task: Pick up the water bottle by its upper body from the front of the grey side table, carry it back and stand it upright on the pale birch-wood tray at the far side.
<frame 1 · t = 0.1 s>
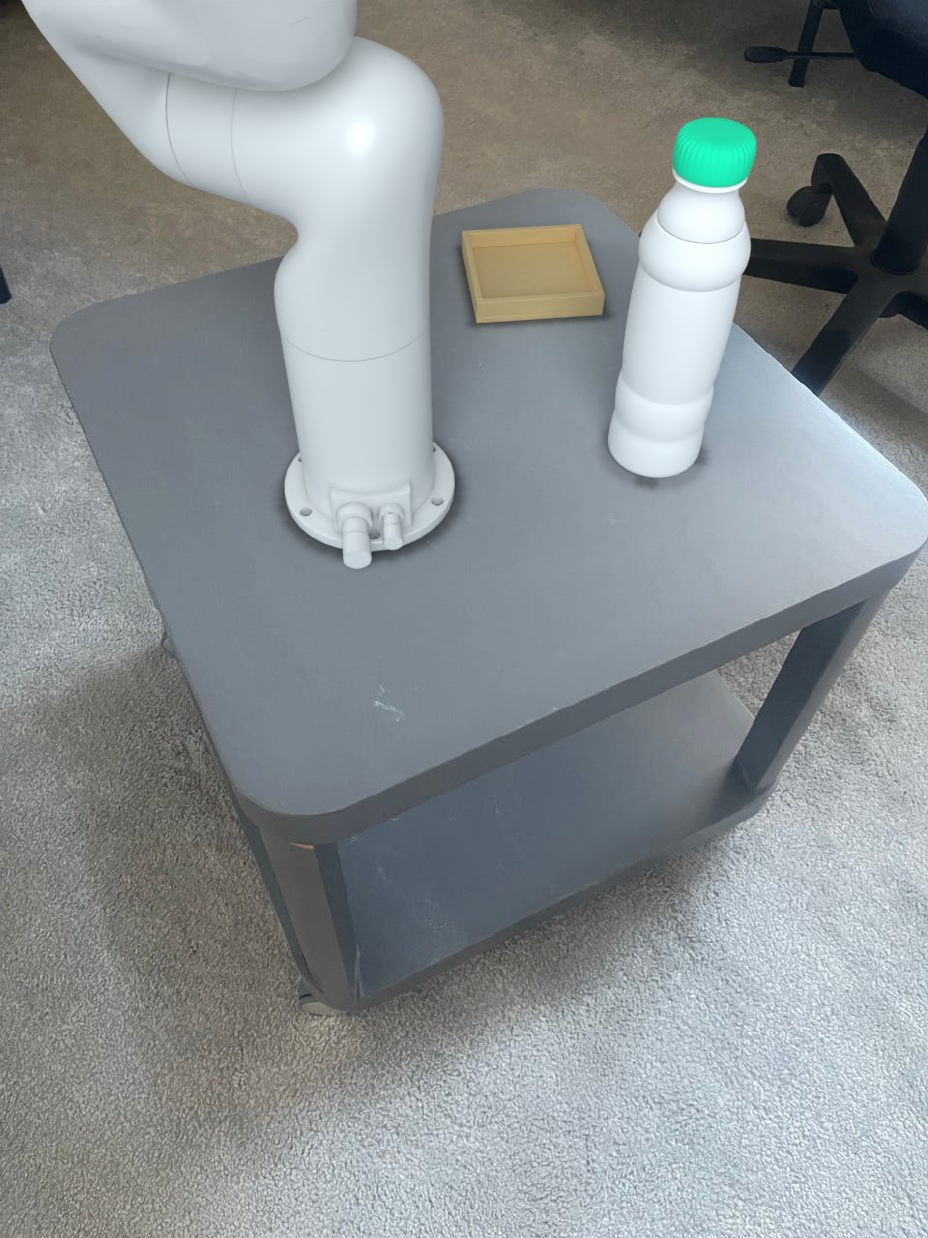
water bottle: (651, 452, 78), on the table
tray: (529, 281, 92), on the table
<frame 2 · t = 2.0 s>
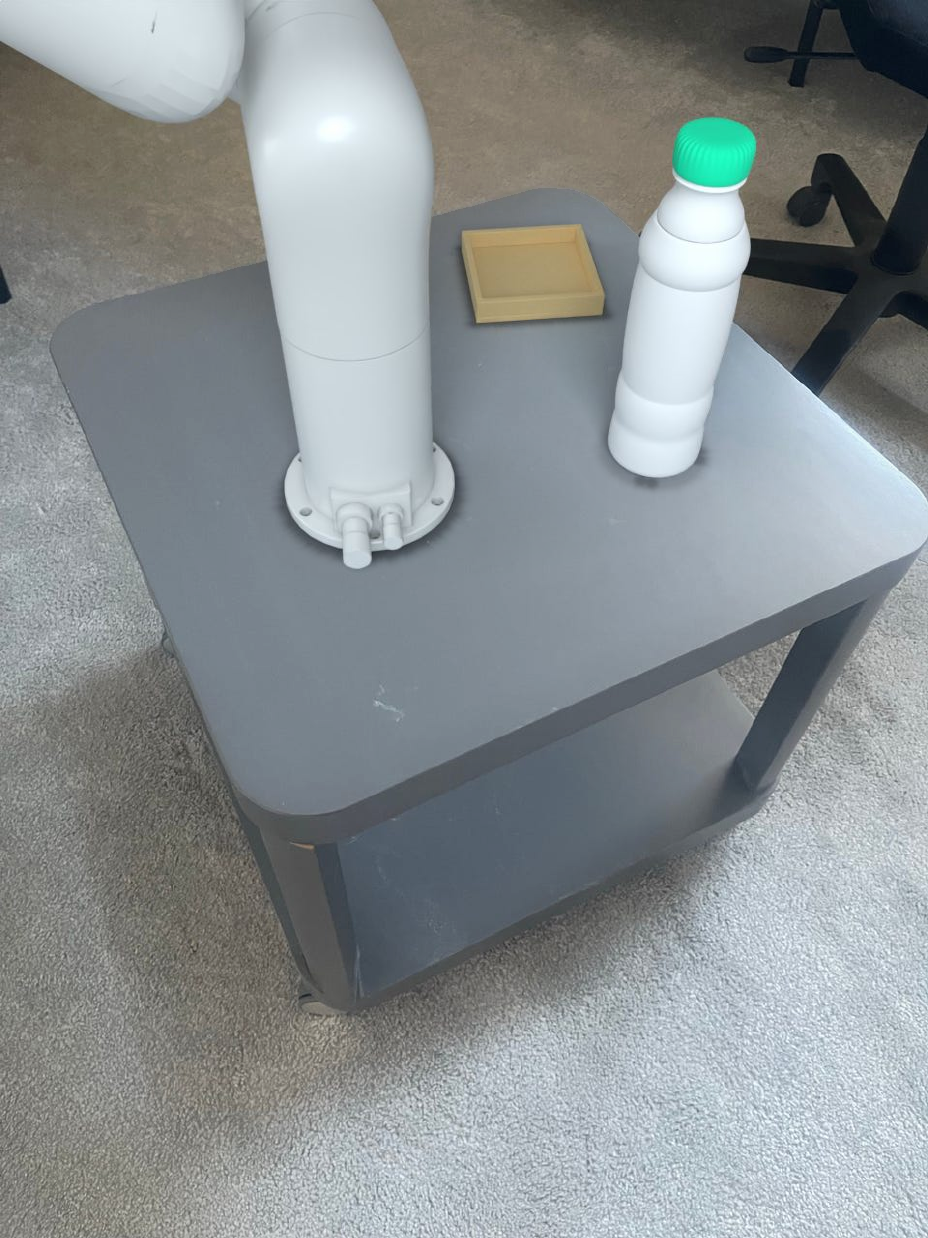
nothing on the table moved.
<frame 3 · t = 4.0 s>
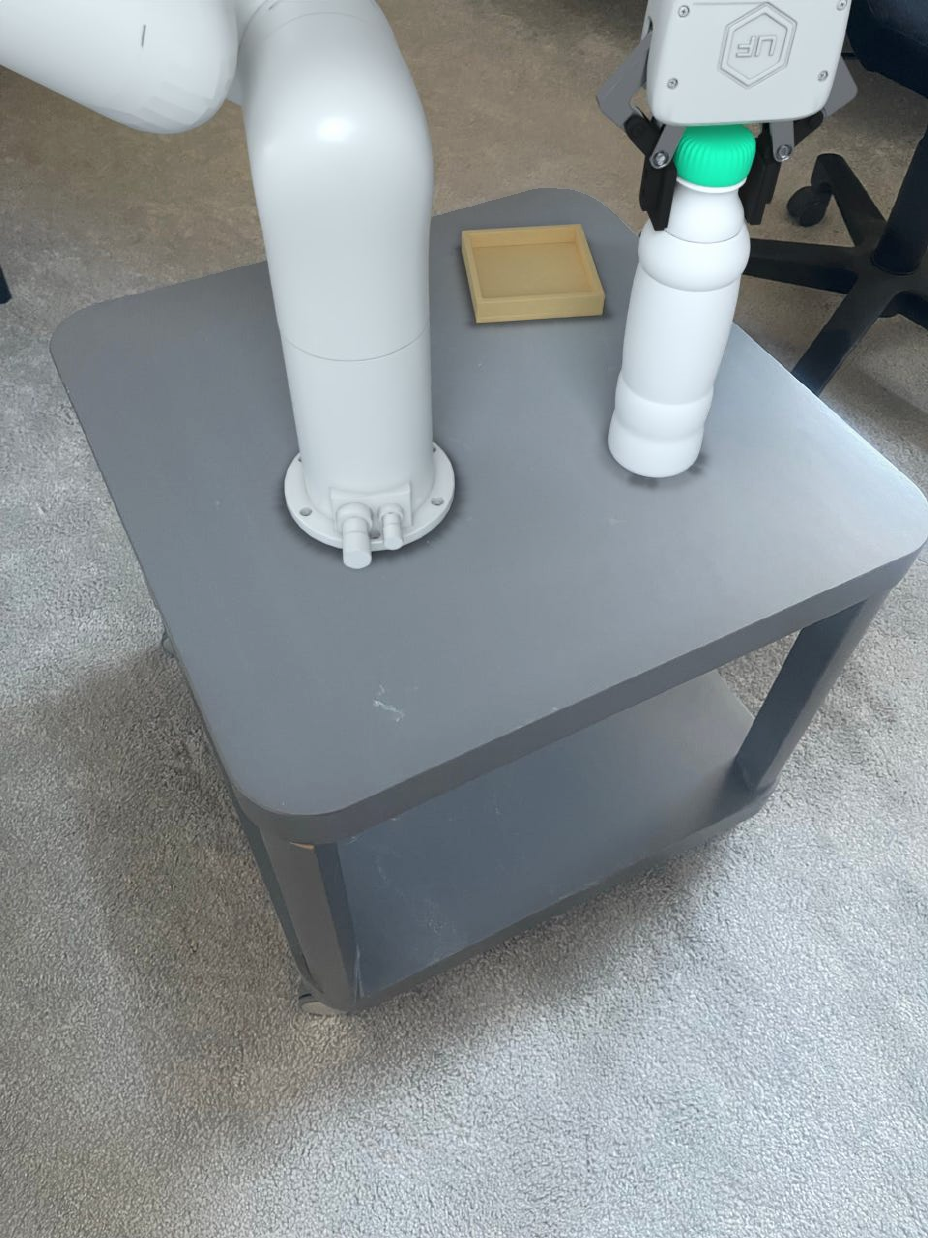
hand: (702, 213, 63), 20 cm above the table, tool pointing down, fingers closed on water bottle, 5 cm apart
water bottle: (651, 452, 78), on the table, touching gripper
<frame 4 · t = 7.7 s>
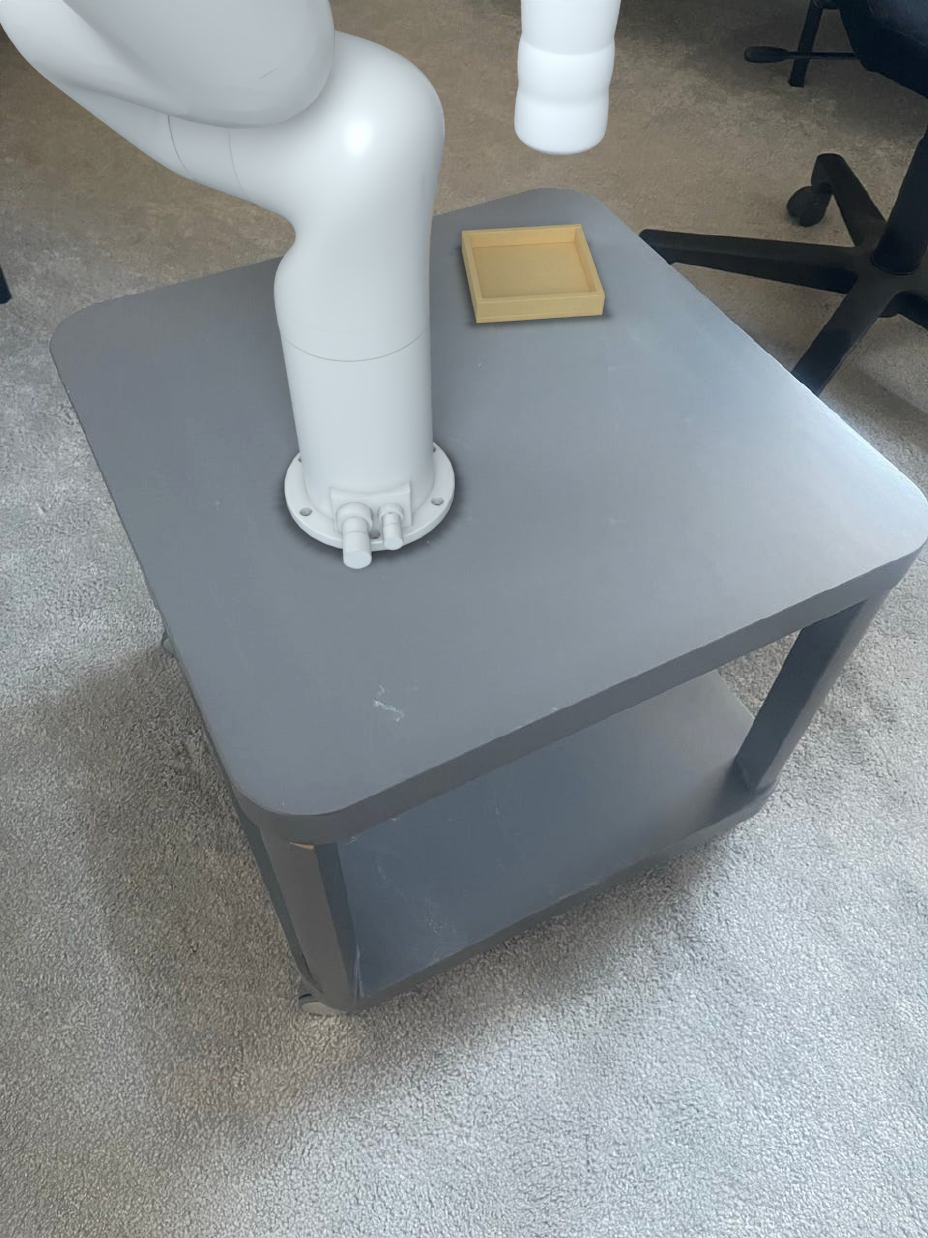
water bottle: (559, 138, 78), point 15 cm above the table, touching gripper
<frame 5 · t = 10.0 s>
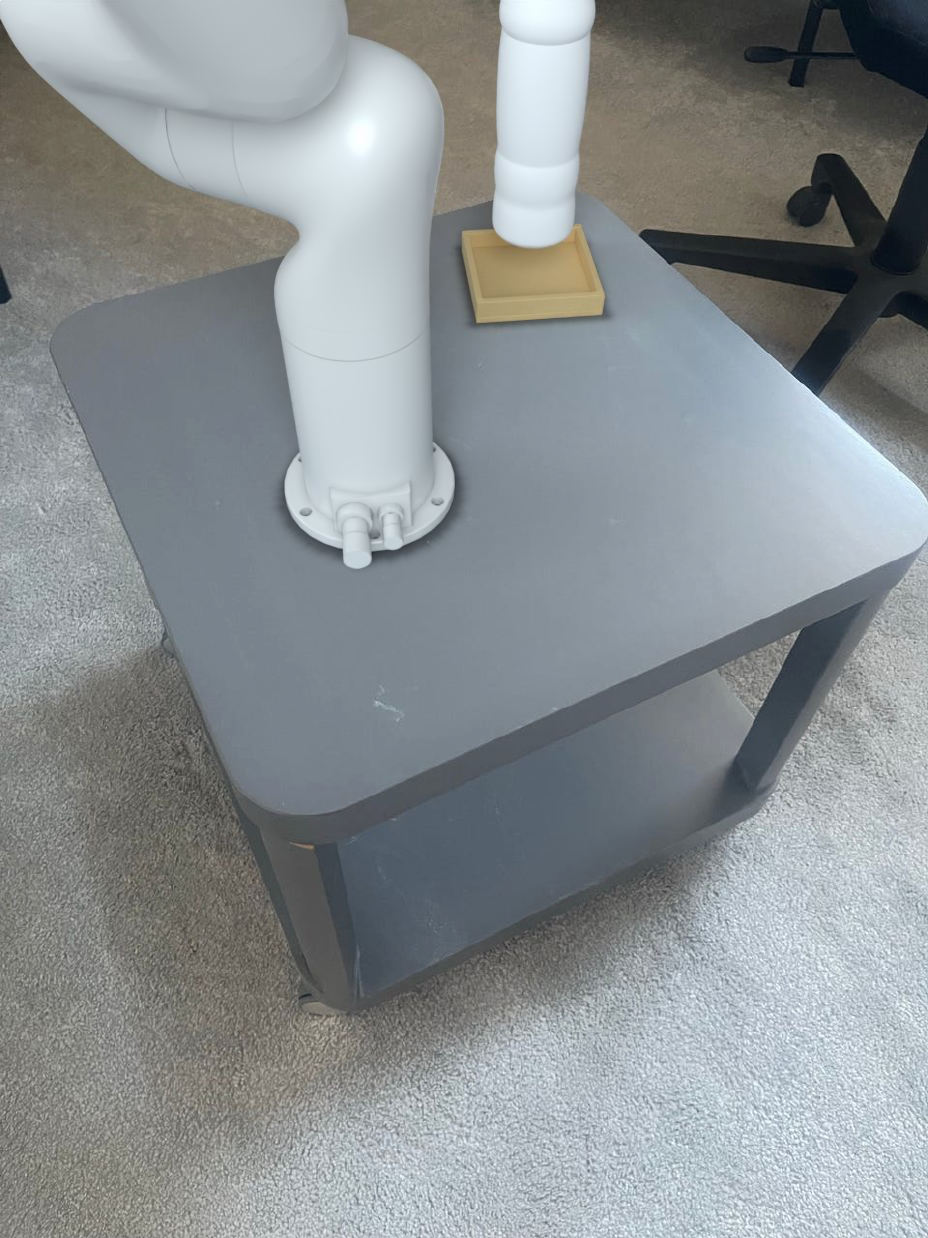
water bottle: (532, 231, 88), point 5 cm above the table, touching gripper
when the fingers open (20 cm above the table, at t = 11.6 s): water bottle stays where it is, resting on tray.
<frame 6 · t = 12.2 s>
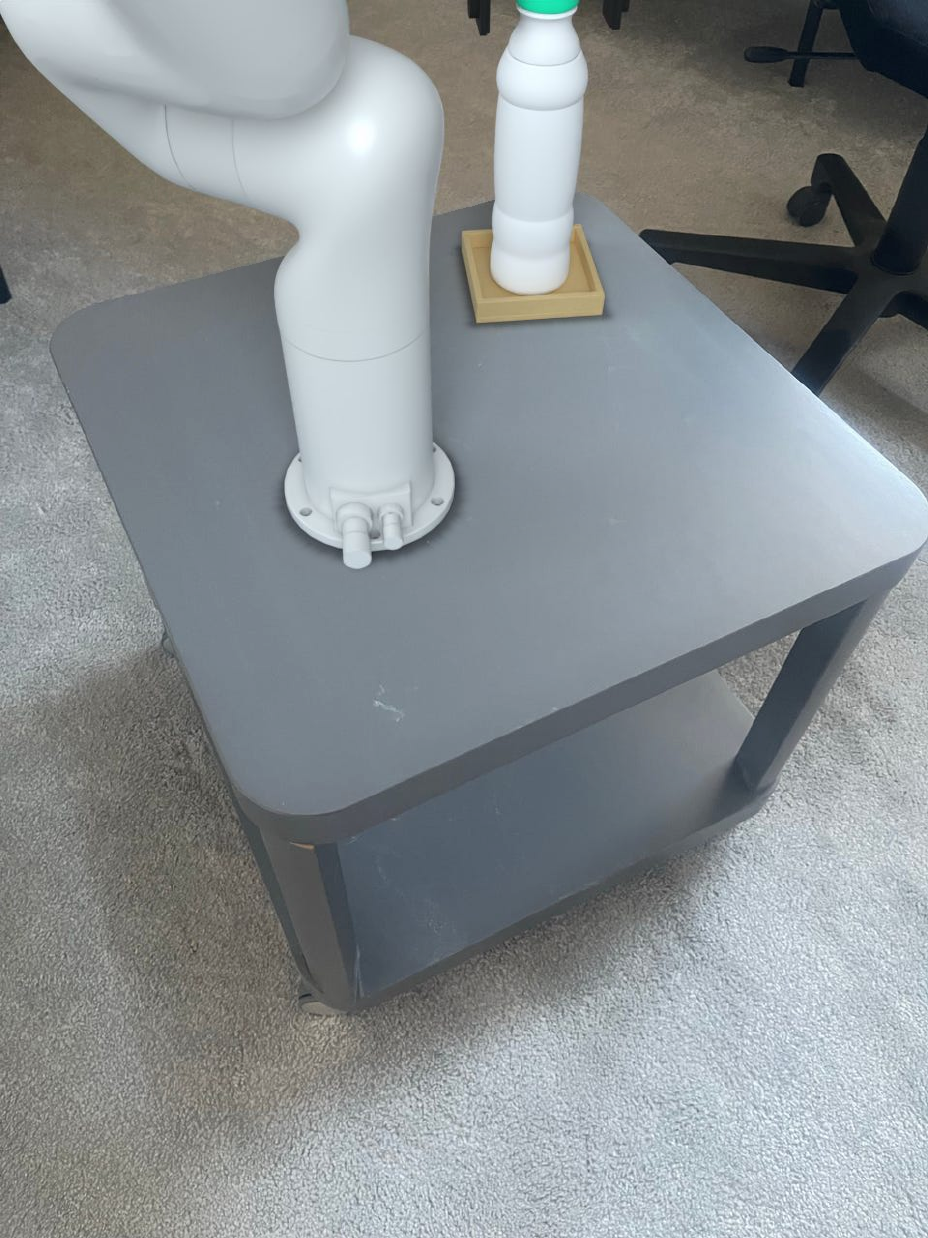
hand: (546, 24, 74), 22 cm above the table, tool pointing down, fingers open, 9 cm apart
water bottle: (528, 278, 91), resting on tray
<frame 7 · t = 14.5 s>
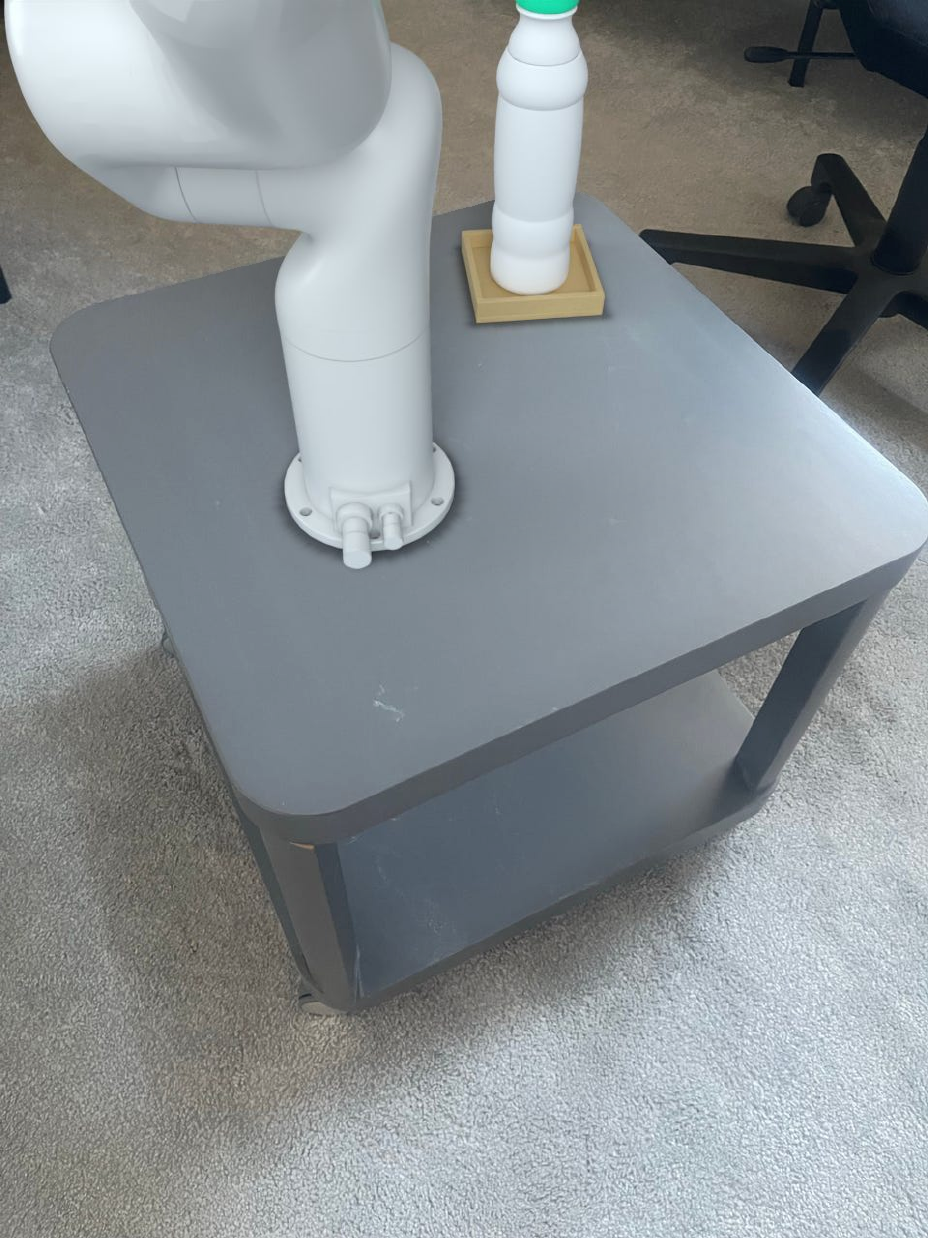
nothing on the table moved.
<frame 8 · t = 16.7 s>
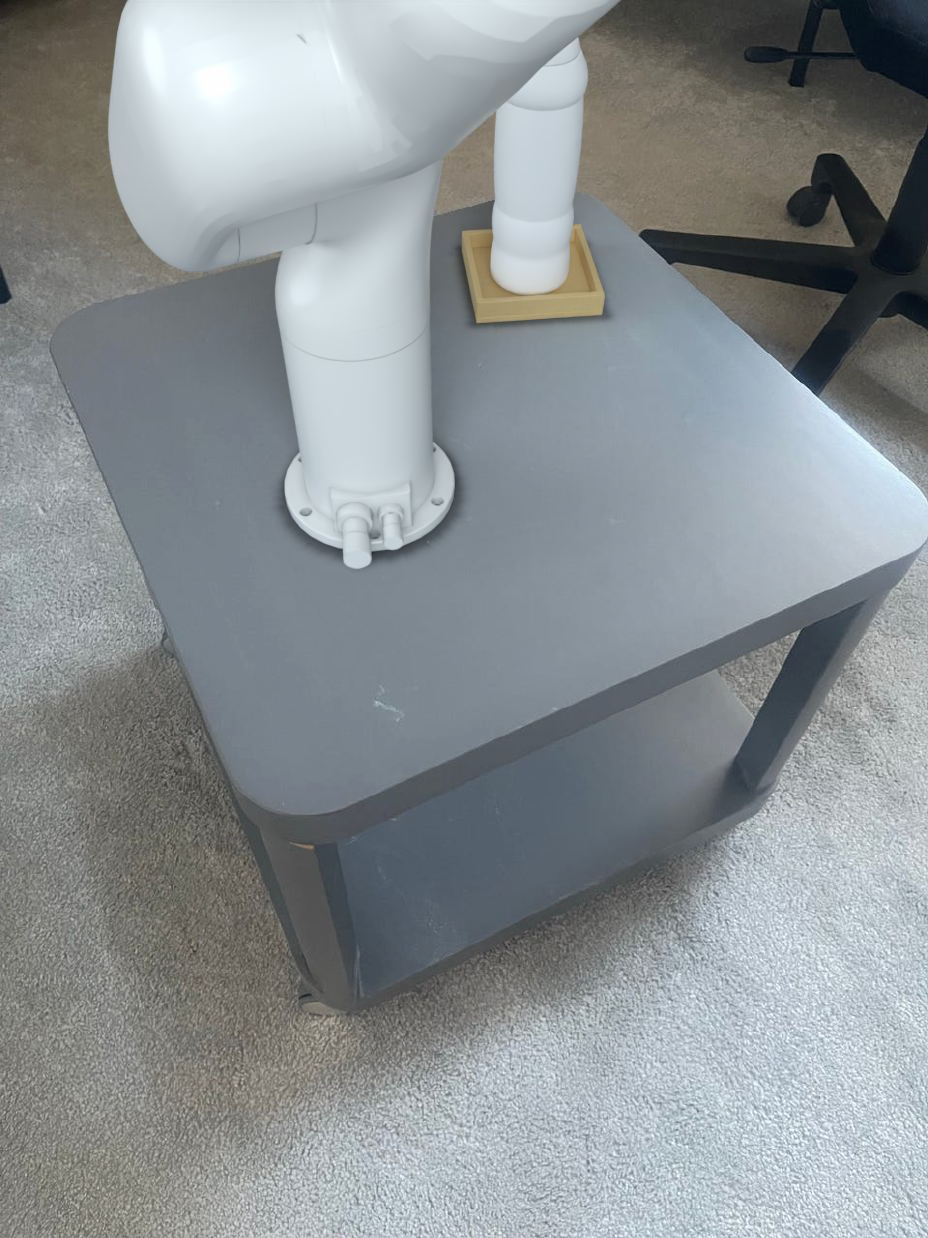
nothing on the table moved.
at the end: water bottle 0.1 cm off-centre in the tray, point 0.4 cm above the tray's base; water bottle tilted 0°; the gripper is holding nothing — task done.
